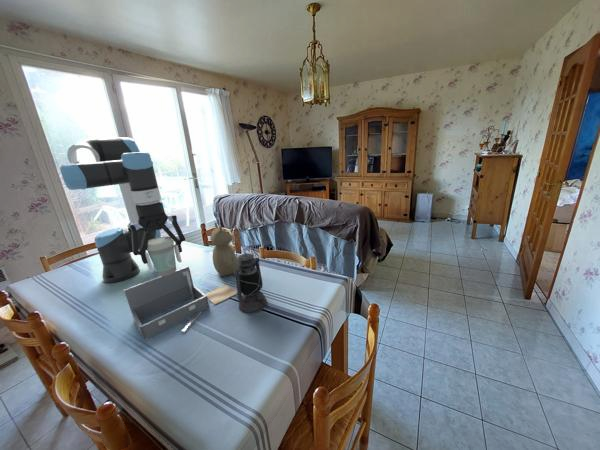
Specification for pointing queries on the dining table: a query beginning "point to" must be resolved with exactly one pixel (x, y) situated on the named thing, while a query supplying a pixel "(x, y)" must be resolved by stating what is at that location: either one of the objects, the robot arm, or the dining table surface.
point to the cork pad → (220, 294)
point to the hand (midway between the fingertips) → (165, 265)
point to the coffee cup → (162, 255)
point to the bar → (191, 322)
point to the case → (164, 301)
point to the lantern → (249, 283)
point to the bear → (223, 251)
